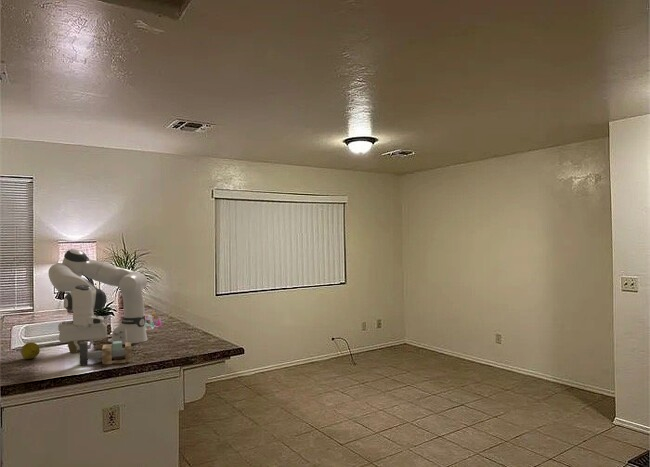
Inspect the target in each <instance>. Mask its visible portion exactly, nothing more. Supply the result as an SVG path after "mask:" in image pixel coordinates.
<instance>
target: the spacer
mask: <svg viewBox="0 0 650 467" xmlns="http://www.w3.org/2000/svg"><path fill="white" fill-rule="evenodd" d="M122 348H123V344H122V341H115V342H113V343H112V349H113V351H119V350H122Z"/></svg>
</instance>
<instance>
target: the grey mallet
mask: <svg viewBox="0 0 650 467" xmlns="http://www.w3.org/2000/svg"><path fill="white" fill-rule="evenodd" d="M87 345H89V342H88V340H85V342H80V352H79V366H87V365H88V363H89V360H98V359H102V349H101V350H91V351H89V349H87ZM132 355H133V348H132V346H131V356H132ZM117 356H125V347H122V350H119V351H113V348H112V357H117Z"/></svg>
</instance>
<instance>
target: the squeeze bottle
mask: <svg viewBox="0 0 650 467" xmlns="http://www.w3.org/2000/svg"><path fill="white" fill-rule="evenodd" d="M85 341H86V340H79V341H78V342H77V344H78V346H80V342H85ZM67 348H68V350H69V352H70V353H71V354H78V353H79V354H80V350H77V347H76V346H75V344H74V341H68V342H67Z"/></svg>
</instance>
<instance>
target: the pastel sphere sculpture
mask: <svg viewBox="0 0 650 467" xmlns="http://www.w3.org/2000/svg"><path fill="white" fill-rule="evenodd" d="M144 315H145V328H146V332H147V331H152V330H154V329H158V328H160V327H162V326H163V323H162V316H159V314H156V312H151V315H150V314H146V313H144Z"/></svg>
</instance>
